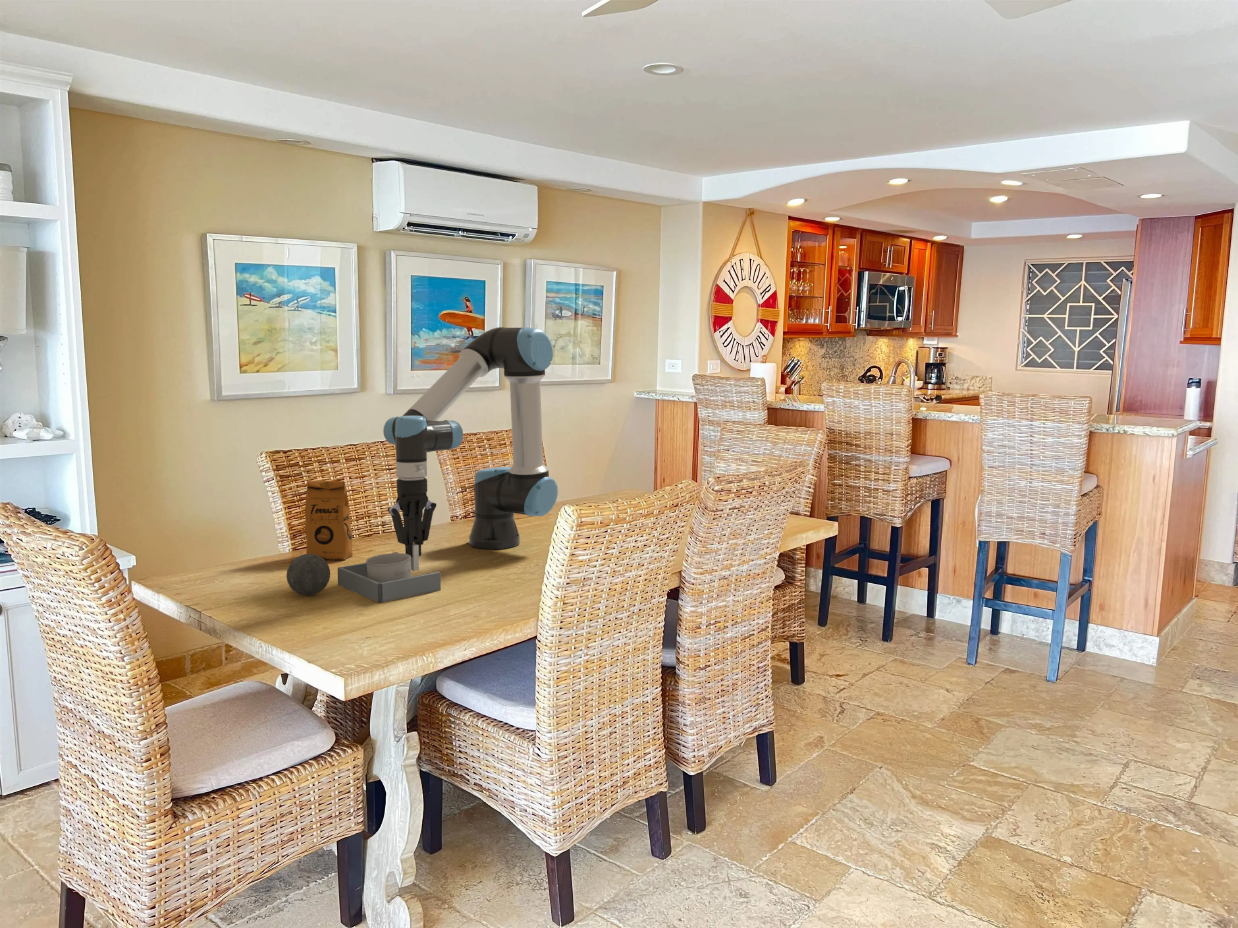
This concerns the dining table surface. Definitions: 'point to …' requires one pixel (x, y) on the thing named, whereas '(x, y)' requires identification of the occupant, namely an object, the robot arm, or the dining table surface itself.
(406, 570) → the teacup
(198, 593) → the dining table surface
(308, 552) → the coffee package
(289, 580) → the decorative ball
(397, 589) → the box
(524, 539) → the dining table surface
